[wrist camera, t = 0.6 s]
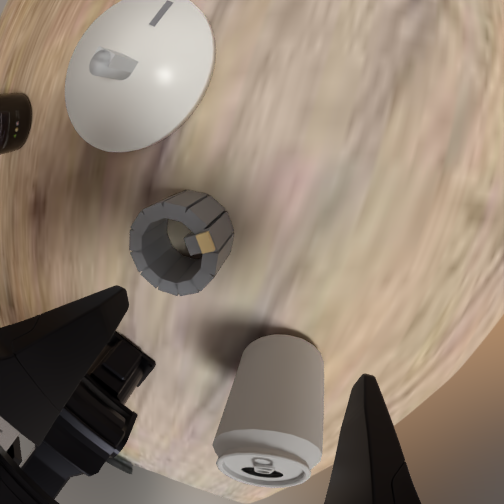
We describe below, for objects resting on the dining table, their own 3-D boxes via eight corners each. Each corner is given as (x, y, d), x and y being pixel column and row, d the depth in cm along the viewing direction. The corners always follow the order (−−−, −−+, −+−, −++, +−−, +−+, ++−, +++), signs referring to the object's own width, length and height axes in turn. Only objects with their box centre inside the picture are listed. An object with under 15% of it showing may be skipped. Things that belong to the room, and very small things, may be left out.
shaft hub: (149, 184, 21) (120, 195, 17) (53, 109, 19) (23, 110, 16) (255, 31, 15) (243, 8, 11) (127, -18, 14) (102, -33, 10)
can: (241, 378, 27) (208, 480, 16) (245, 321, 24) (202, 440, 13) (314, 389, 26) (306, 496, 15) (332, 333, 23) (335, 460, 12)
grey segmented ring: (174, 276, 23) (151, 303, 20) (145, 206, 22) (114, 221, 18) (244, 260, 22) (230, 288, 18) (215, 179, 20) (192, 190, 16)
